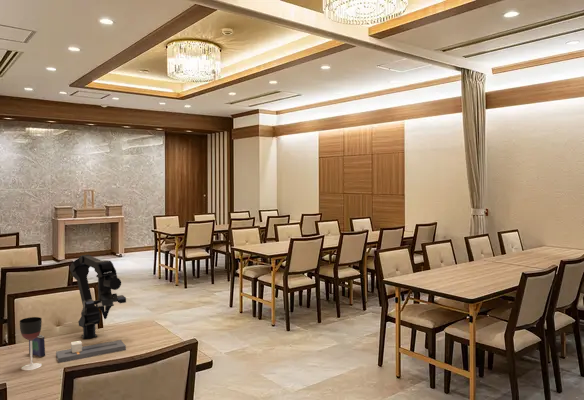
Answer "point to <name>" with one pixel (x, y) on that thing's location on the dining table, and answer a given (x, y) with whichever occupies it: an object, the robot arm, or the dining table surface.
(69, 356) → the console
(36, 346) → the flask
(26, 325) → the wineglass
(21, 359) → the dining table surface
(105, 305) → the robot arm
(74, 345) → the fader tab
